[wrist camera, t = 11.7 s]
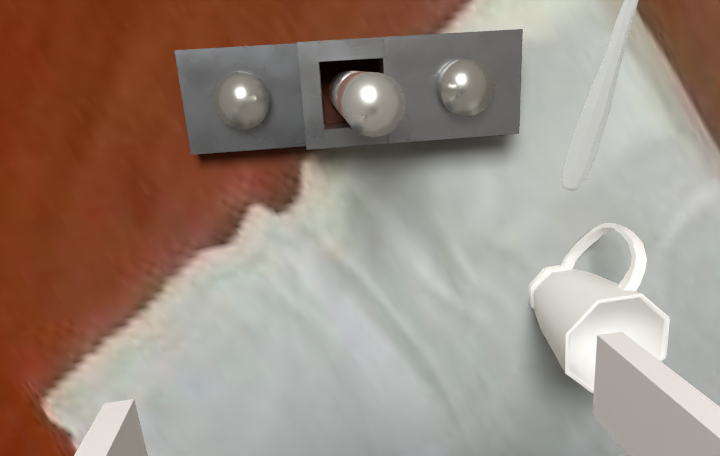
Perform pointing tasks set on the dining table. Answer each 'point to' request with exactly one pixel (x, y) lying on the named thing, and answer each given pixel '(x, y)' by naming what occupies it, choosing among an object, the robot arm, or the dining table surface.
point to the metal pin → (368, 101)
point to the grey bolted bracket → (304, 94)
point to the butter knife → (597, 104)
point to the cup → (595, 308)
